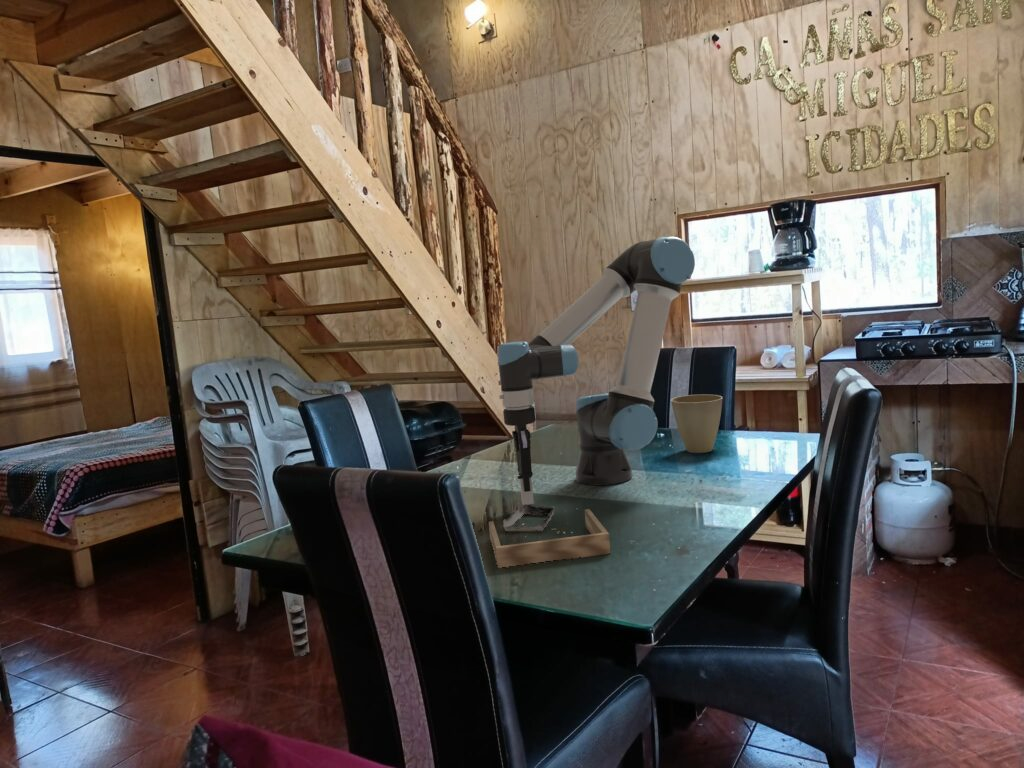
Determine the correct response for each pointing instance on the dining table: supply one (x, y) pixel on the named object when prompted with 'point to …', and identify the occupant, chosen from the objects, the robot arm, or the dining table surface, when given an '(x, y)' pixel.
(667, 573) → the dining table surface
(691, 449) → the plant pot
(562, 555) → the box
